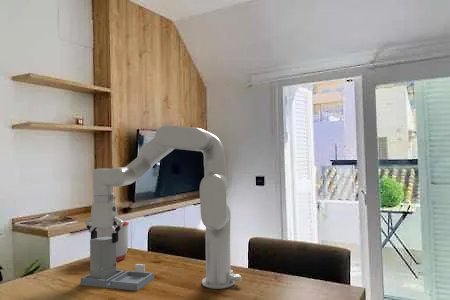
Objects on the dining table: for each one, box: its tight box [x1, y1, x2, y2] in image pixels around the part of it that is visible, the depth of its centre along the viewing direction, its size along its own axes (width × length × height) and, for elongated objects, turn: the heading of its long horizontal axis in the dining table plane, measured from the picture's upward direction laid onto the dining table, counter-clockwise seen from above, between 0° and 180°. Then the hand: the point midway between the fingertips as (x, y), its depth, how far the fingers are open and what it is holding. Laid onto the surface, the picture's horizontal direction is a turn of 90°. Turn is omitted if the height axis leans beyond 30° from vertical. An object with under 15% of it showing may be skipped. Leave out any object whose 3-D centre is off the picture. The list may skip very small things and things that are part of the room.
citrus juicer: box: [96, 221, 130, 263], centre depth 171 cm, size 16×17×20 cm
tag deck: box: [79, 261, 155, 291], centre depth 139 cm, size 25×13×6 cm, turn 74°
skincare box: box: [89, 236, 116, 280], centre depth 141 cm, size 8×7×16 cm
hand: (104, 242), depth 141 cm, fingers open, 9 cm apart
